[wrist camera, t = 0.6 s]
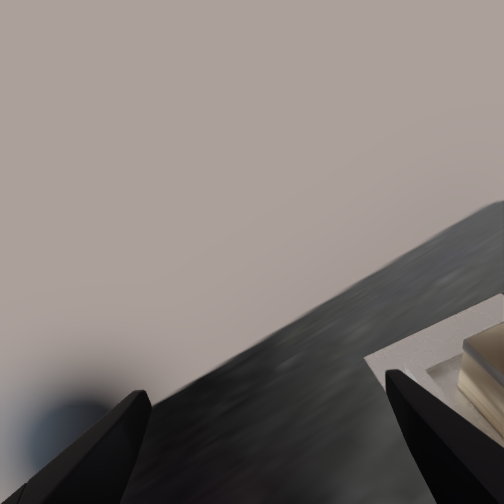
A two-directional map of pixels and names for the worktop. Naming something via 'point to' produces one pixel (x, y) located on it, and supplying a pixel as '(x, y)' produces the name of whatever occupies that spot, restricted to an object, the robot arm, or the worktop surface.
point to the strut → (485, 374)
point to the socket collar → (442, 358)
